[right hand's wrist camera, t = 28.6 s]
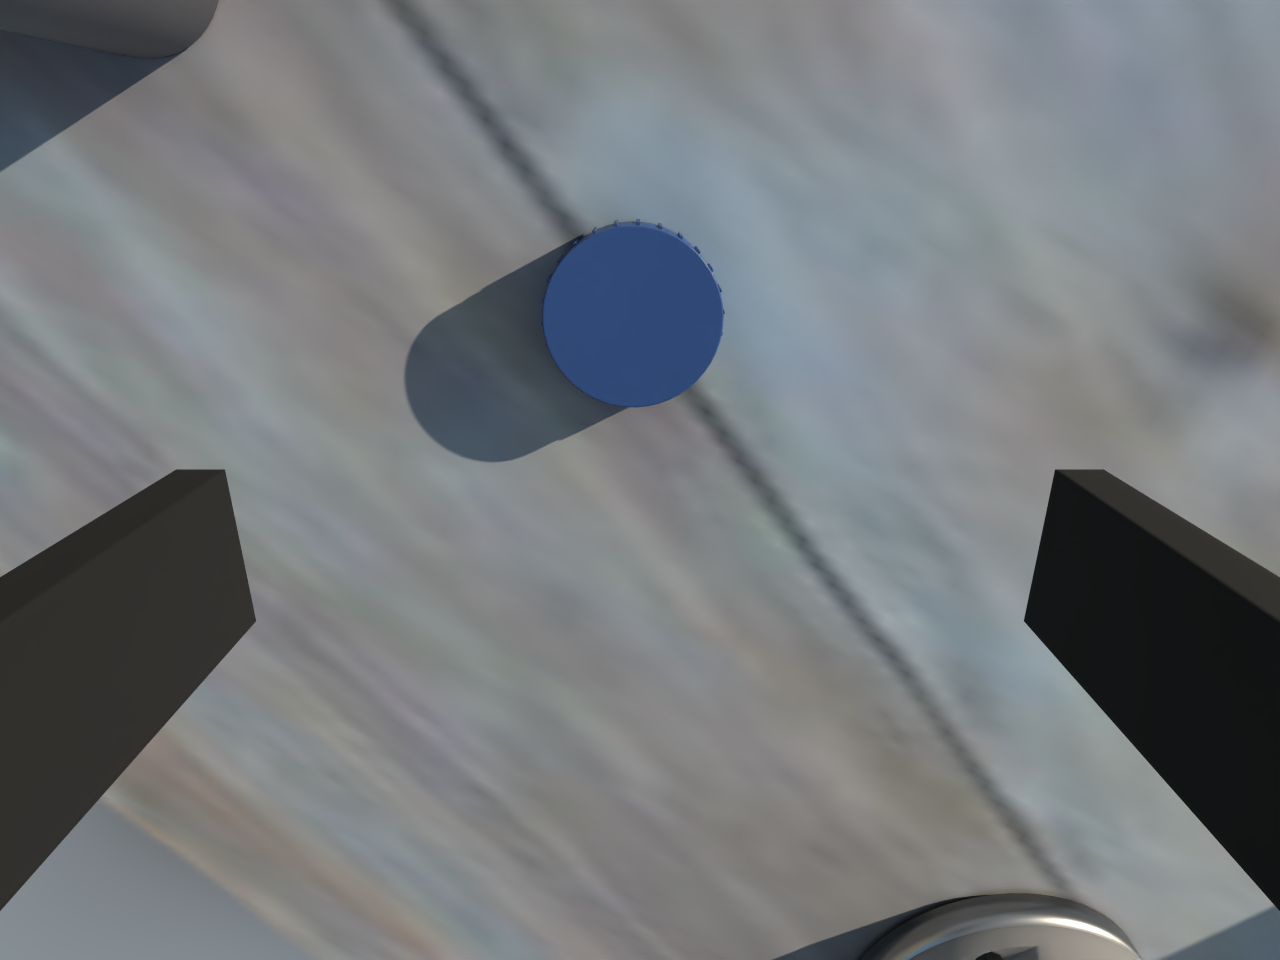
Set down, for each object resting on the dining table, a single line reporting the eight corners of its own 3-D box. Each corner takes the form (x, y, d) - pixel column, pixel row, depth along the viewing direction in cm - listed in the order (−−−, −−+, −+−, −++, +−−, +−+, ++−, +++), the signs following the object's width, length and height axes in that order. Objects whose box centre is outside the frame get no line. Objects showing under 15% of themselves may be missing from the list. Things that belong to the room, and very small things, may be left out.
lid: (678, 187, 25) (681, 189, 23) (746, 354, 27) (752, 366, 25) (514, 265, 26) (506, 272, 24) (592, 421, 28) (589, 436, 26)
